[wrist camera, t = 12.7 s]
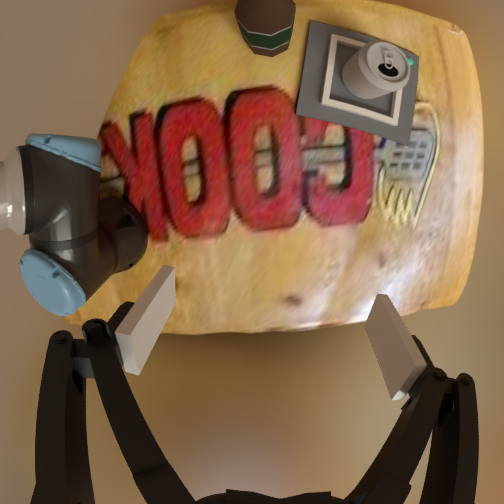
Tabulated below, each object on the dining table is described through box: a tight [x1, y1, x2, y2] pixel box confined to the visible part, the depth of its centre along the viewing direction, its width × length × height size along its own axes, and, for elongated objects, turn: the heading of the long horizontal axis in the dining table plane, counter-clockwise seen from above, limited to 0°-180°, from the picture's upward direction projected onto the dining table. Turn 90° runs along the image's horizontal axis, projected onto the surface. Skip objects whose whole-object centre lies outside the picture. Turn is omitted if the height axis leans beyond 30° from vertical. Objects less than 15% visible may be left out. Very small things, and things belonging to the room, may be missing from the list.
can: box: [342, 41, 410, 99], centre depth 29 cm, size 8×8×12 cm
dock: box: [296, 21, 419, 146], centre depth 34 cm, size 20×18×2 cm
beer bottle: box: [235, 0, 296, 57], centre depth 23 cm, size 8×8×24 cm
